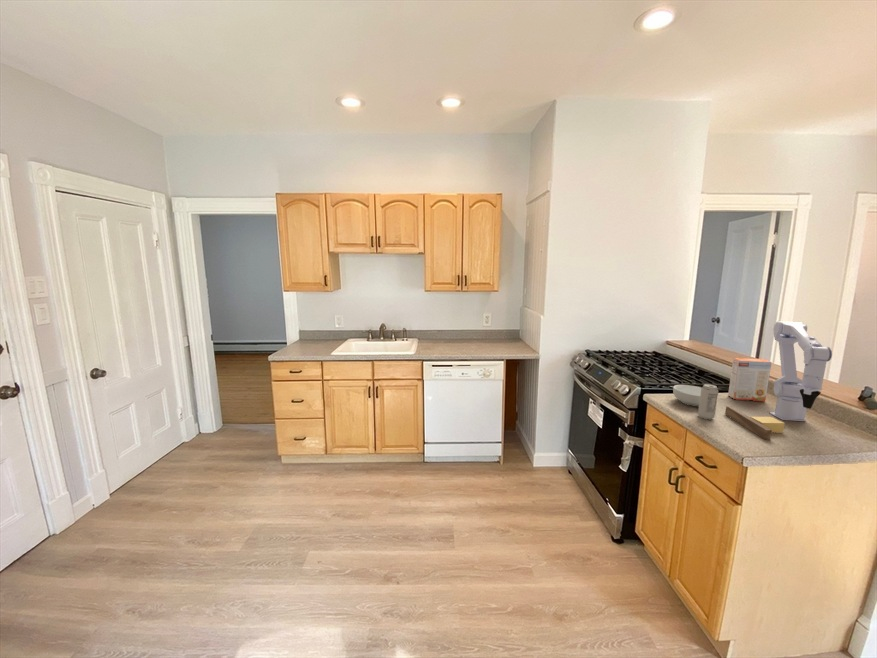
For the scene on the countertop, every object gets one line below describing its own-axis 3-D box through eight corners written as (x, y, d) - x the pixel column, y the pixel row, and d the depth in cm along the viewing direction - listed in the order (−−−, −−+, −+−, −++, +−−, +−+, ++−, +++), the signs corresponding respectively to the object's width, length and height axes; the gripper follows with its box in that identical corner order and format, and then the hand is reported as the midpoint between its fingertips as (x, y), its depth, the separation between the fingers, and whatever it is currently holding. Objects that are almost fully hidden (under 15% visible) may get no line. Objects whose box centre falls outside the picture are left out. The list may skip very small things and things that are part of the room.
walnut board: (729, 414, 165) (731, 406, 164) (770, 439, 142) (771, 430, 141) (724, 414, 165) (726, 406, 165) (764, 439, 142) (766, 429, 141)
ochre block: (769, 426, 153) (771, 416, 153) (782, 433, 148) (784, 423, 147) (748, 426, 154) (750, 416, 153) (760, 433, 148) (762, 422, 147)
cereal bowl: (720, 411, 168) (722, 397, 167) (680, 408, 172) (682, 394, 170) (701, 398, 185) (703, 385, 183) (666, 396, 188) (667, 383, 187)
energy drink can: (706, 414, 165) (711, 383, 162) (717, 420, 159) (722, 388, 156) (694, 414, 165) (698, 383, 162) (704, 420, 159) (709, 388, 156)
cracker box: (758, 397, 185) (764, 358, 181) (765, 402, 179) (772, 362, 176) (726, 395, 188) (732, 357, 184) (733, 399, 183) (739, 360, 179)
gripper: (802, 370, 152) (797, 400, 154) (795, 376, 143) (789, 408, 146) (827, 374, 146) (820, 405, 149) (821, 380, 138) (814, 414, 140)
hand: (807, 407), depth 147 cm, fingers closed
